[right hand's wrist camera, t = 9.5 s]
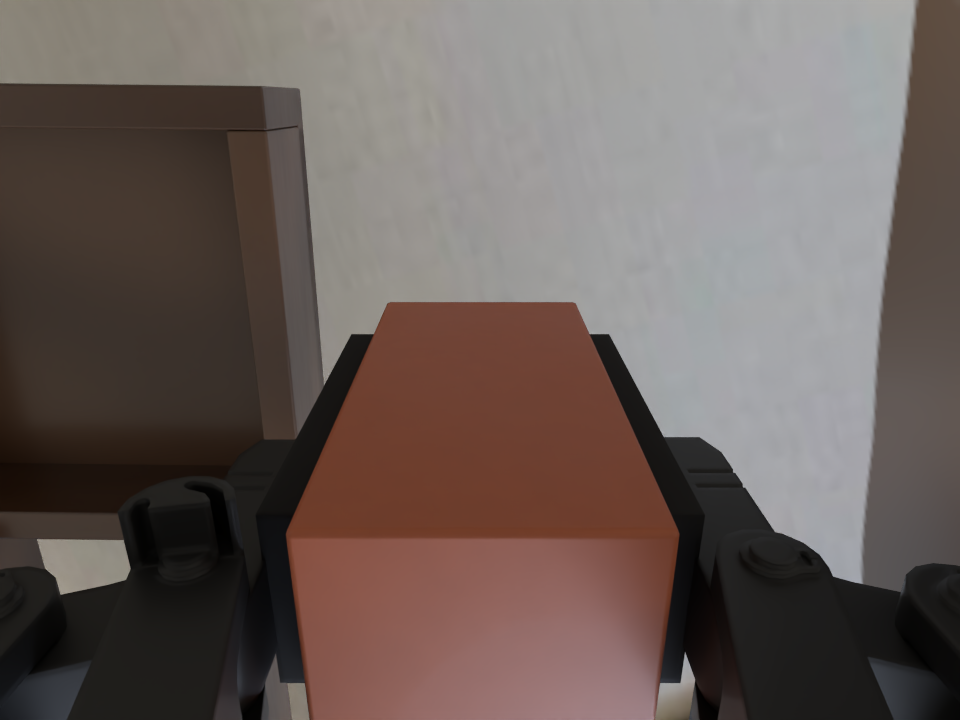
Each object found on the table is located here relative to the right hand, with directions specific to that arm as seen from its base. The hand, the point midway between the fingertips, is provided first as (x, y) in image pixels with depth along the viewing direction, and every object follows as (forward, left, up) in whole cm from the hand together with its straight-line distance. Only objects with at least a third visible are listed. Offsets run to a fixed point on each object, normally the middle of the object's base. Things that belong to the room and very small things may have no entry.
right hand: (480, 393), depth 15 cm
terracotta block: (0, 0, 0) cm, 0 cm away
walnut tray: (+8, -12, -7) cm, 16 cm away
